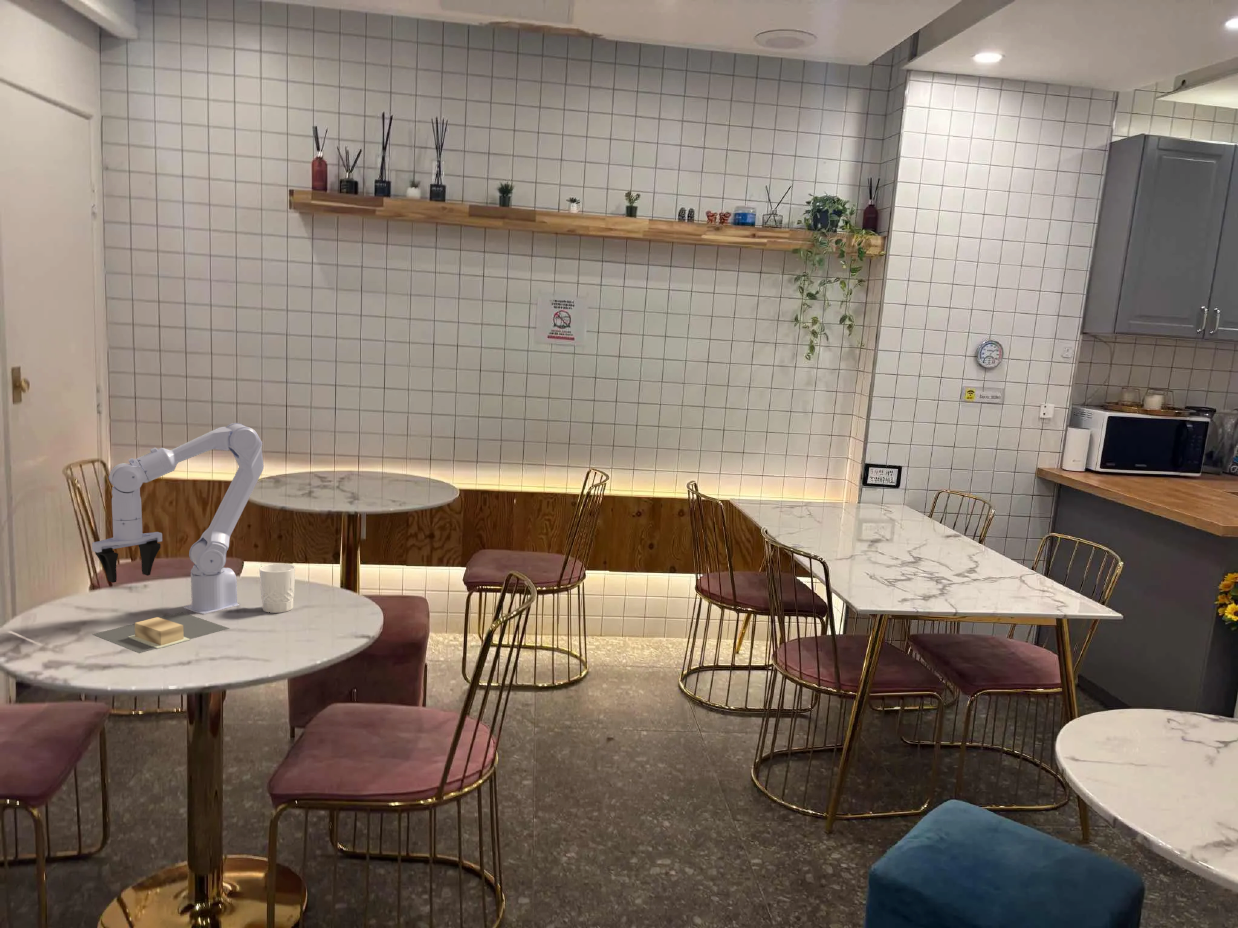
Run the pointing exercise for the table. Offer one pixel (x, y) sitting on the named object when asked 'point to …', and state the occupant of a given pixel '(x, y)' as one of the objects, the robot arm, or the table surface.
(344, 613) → the table surface
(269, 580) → the white cup
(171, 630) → the oak block
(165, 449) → the robot arm
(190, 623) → the rubber mat
